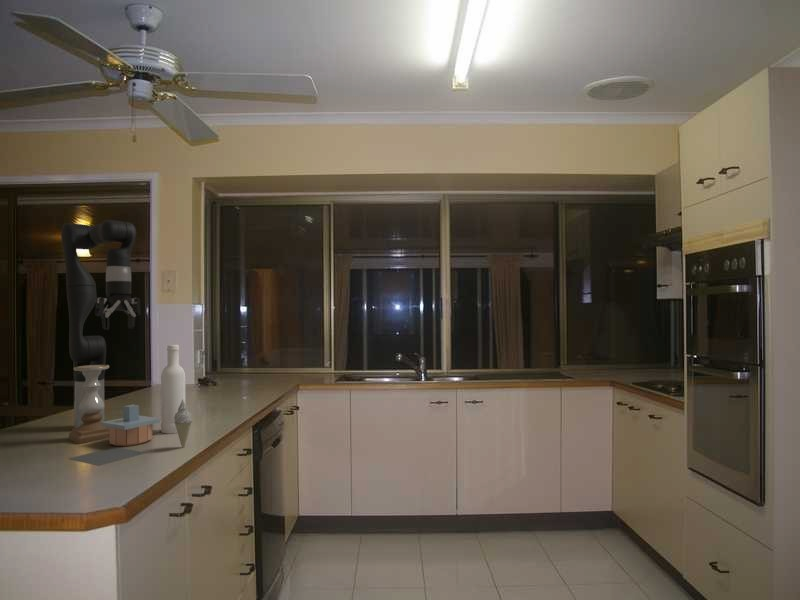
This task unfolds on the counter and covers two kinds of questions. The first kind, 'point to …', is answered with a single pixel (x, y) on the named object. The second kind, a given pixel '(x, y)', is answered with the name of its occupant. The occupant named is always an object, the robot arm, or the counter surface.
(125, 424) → the lid
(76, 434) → the candle holder
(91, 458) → the mat
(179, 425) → the ice cream cone
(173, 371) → the bottle
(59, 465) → the counter surface
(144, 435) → the bowl
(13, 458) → the counter surface
